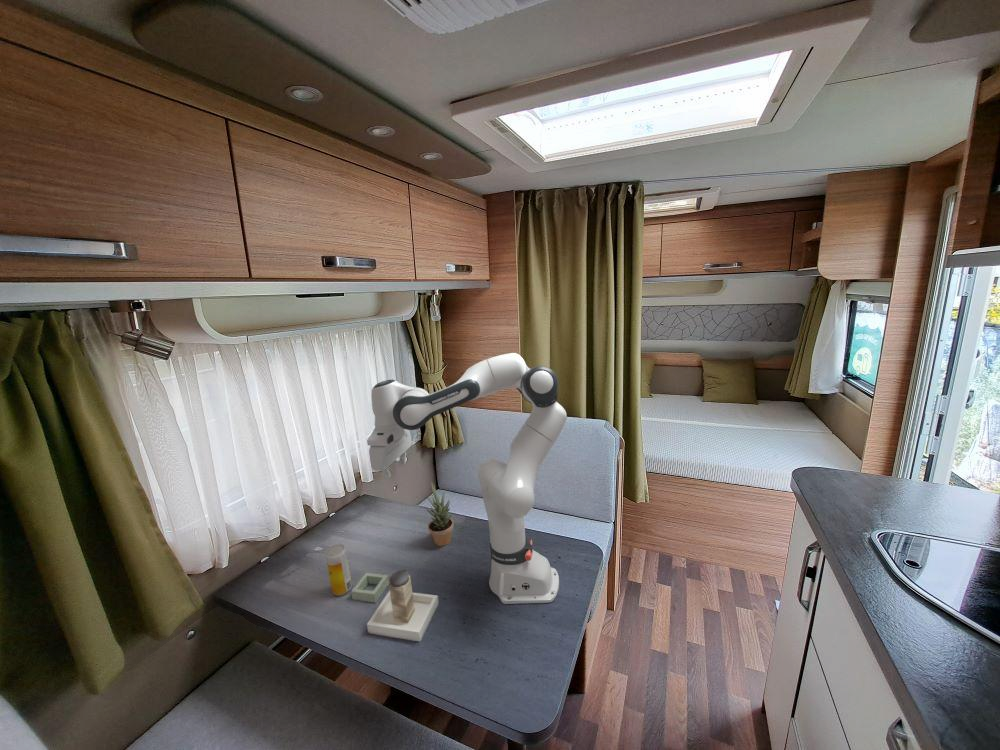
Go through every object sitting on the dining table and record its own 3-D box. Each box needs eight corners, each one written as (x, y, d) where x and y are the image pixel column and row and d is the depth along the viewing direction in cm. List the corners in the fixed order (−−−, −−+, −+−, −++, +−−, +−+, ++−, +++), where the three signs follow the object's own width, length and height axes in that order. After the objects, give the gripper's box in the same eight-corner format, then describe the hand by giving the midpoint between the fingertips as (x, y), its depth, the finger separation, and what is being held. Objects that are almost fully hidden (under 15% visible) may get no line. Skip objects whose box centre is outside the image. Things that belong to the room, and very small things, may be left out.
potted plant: (430, 535, 150) (423, 478, 145) (454, 531, 151) (448, 474, 146) (429, 551, 140) (422, 490, 135) (455, 547, 141) (449, 487, 136)
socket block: (389, 583, 126) (388, 575, 125) (375, 602, 118) (374, 594, 117) (367, 580, 128) (366, 572, 127) (352, 599, 120) (351, 591, 119)
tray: (438, 604, 116) (437, 595, 115) (420, 641, 103) (419, 632, 103) (391, 597, 120) (390, 589, 119) (368, 633, 107) (366, 624, 107)
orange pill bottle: (339, 582, 128) (332, 543, 125) (356, 583, 127) (349, 543, 124) (328, 596, 122) (320, 555, 119) (346, 597, 121) (338, 556, 118)
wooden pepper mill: (416, 609, 113) (411, 571, 111) (408, 624, 108) (403, 584, 106) (400, 607, 114) (395, 569, 112) (392, 621, 110) (386, 582, 107)
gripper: (397, 420, 131) (401, 457, 134) (363, 442, 112) (369, 485, 115) (413, 420, 130) (418, 457, 133) (382, 443, 111) (388, 486, 113)
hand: (395, 471), depth 124 cm, fingers open, 8 cm apart
